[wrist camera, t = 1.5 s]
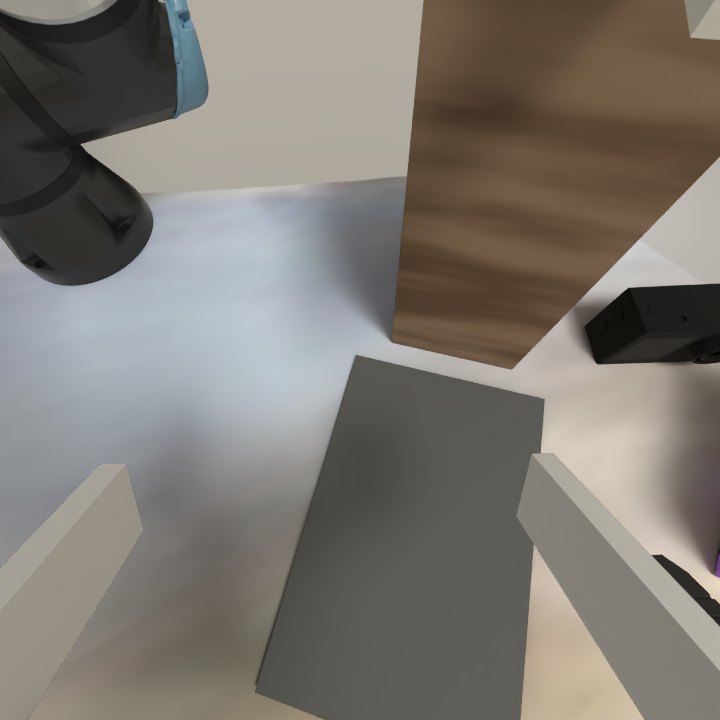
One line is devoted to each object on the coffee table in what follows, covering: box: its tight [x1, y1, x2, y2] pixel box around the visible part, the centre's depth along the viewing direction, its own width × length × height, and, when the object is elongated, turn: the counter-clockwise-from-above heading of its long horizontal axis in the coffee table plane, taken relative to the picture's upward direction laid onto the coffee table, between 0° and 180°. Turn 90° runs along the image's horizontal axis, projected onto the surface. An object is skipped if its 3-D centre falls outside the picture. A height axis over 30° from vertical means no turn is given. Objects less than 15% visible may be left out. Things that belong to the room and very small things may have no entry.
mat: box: [255, 355, 545, 720], centre depth 29 cm, size 27×18×1 cm, turn 165°
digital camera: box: [585, 284, 720, 364], centre depth 31 cm, size 10×5×7 cm, turn 91°
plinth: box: [392, 0, 720, 370], centre depth 24 cm, size 19×13×30 cm
